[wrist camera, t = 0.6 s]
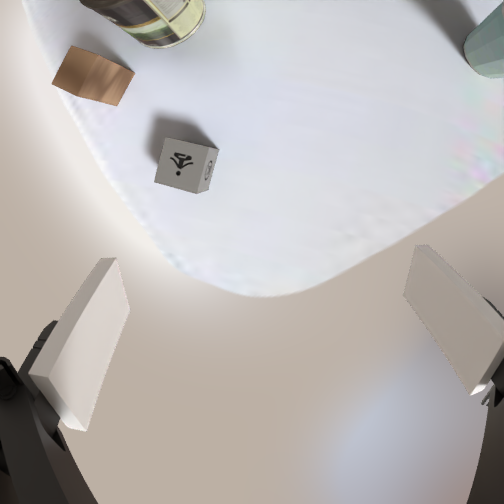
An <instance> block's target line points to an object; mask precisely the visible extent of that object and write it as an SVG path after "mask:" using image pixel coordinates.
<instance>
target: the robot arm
mask: <svg viewBox="0 0 504 504" xmlns="http://www.w3.org/2000/svg"><path fill="white" fill-rule="evenodd" d="M403 296H404V297H405V299H406V300H407V302H408V303H409V304H410V306H411V307H412V308H413V310H414V311H415V313H416V314H417V315H418V317H419V318H420V320H421V321H422V322H423V324H424V325H425V327H426V328H427V330H428V331H429V332H430V334H431V335H432V337H433V338H434V340H435V341H436V343H437V344H438V346H439V347H440V349H441V350H442V352H443V353H444V355H445V356H446V358H447V359H448V361H449V363H450V364H451V366H452V367H453V369H454V370H455V372H456V374H457V375H458V377H459V378H460V380H461V382H462V383H463V385H464V386H465V388H466V390H467V391H468V393H469V395H473V394H475V393H477V392H480V391H482V390H484V388H485V387H486V385H487V384H488V382H489V381H490V379H491V380H492V381H493V383H494V385H493V386H492V388H491V389H490V391H489V392H488V393H487V395H486V396H485V398H484V399H483V400H482V403H481V404H482V405H484V403H485V402H486V400H487V399H489V402H488V404H487V405H486V406H488V414H487V421H486V428H485V433H484V438H483V444H482V449H481V453H480V458H479V463H478V466H477V470H476V474H475V478H474V481H473V485H472V488H471V492H470V495H469V498H468V501H467V504H504V317H502V314H501V313H500V312H499V311H497V309H496V308H495V306H494V305H493V304H492V303H491V302H490V301H488V300H487V299H485V298H484V297H482V296H481V295H480V294H479V293H478V292H477V291H476V290H475V289H474V288H473V287H472V286H471V285H470V284H469V283H468V282H467V281H466V280H465V279H464V278H463V277H462V276H461V275H460V274H459V273H458V272H457V271H456V270H455V269H454V268H453V267H452V266H451V265H450V264H449V263H447V262H446V261H445V260H444V259H443V258H442V257H441V256H440V255H439V254H438V253H437V252H436V251H434V250H433V249H432V248H431V247H430V246H429V245H416V246H415V249H414V254H413V258H412V263H411V266H410V270H409V274H408V278H407V282H406V286H405V289H404V293H403ZM129 312H130V307H129V304H128V300H127V296H126V293H125V289H124V285H123V282H122V278H121V274H120V270H119V266H118V261H117V258H101V259H100V260H99V262H98V263H97V264H96V266H95V267H94V269H93V270H92V271H91V273H90V274H89V276H88V277H87V279H86V280H85V281H84V283H83V284H82V286H81V287H80V289H79V290H78V292H77V293H76V295H75V296H74V298H73V299H72V301H71V302H70V304H69V305H68V307H67V309H66V310H65V312H64V313H63V315H62V316H61V318H60V319H59V321H52V322H51V323H50V324H49V325H48V326H46V327H45V328H44V329H43V331H42V332H41V334H40V336H39V337H38V341H36V342H35V344H34V346H33V349H31V351H30V352H29V354H28V356H27V357H26V359H25V361H24V363H23V364H22V366H21V368H20V370H19V371H18V373H17V371H16V370H15V368H14V367H13V365H12V364H11V362H10V360H9V359H7V358H5V357H0V504H98V503H97V501H96V499H95V498H94V496H93V494H92V492H91V491H90V489H89V487H88V485H87V484H86V482H85V480H84V478H83V476H82V474H81V472H80V471H79V469H78V467H77V465H76V463H75V461H74V459H73V457H72V455H71V453H70V451H69V448H68V446H67V444H66V441H65V439H64V437H63V435H62V432H61V431H60V429H59V428H58V426H57V425H58V423H59V420H60V419H61V420H62V421H63V422H64V424H65V425H66V426H67V427H68V428H72V429H77V430H81V431H87V429H88V426H89V422H90V419H91V416H92V413H93V410H94V407H95V404H96V401H97V398H98V395H99V392H100V389H101V386H102V383H103V380H104V377H105V374H106V372H107V369H108V366H109V363H110V360H111V358H112V355H113V352H114V350H115V347H116V345H117V342H118V340H119V337H120V335H121V332H122V329H123V327H124V324H125V322H126V320H127V317H128V315H129Z"/></svg>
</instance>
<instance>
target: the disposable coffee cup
mask: <svg viewBox="0 0 504 504" xmlns="http://www.w3.org/2000/svg"><path fill="white" fill-rule="evenodd" d="M463 47H464V53H465V57H466V59H467V61H468V62H469V64H470V66H471V67H472V68H473V69H474V70H475V71H476V72H477V73H478V74H479V75H482V76H485V77H488V78H504V0H503V2H502V3H501V4H500V5H499V6H498V7H497V8H496V9H495V10H494V11H493V12H492V13H491V14H490V15H489V16H488V17H487V18H486V19H485V20H484V21H483V22H482V23H480V24H479V25H478V26H477V27H476V28H475V29H474V30H473V31H472V32H471V33H470V34H469V35H468V36H467V38H466V41H465V44H464V46H463Z"/></svg>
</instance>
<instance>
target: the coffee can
mask: <svg viewBox="0 0 504 504" xmlns="http://www.w3.org/2000/svg"><path fill="white" fill-rule="evenodd" d="M79 1H80V2H81V3H82V4H83V5H84V6H86V7H88V8H90V9H93V10H94V11H96V12H97V13H99V14H101V15H102V16H104V17H105V18H106V19H108V20H110V21H111V22H113V23H114V24H116V25H117V26H119V27H120V28H121V29H123V30H124V31H126V32H127V33H129V34H130V35H131V36H133V37H134V38H135V39H137V40H138V41H139V42H140V43H141V44H143V45H145V46H147V47H150V48H156V49H159V48H168V47H171V46H174V45H177V44H179V43H181V42H183V41H185V40H186V39H188V38H189V37H190V36H191V35H193V34H194V33H195V32H196V30H197V29H198V28H199V27H200V25H201V23H202V22H203V20H204V17H205V12H206V7H205V3H204V0H79Z"/></svg>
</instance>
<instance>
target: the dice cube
mask: <svg viewBox="0 0 504 504" xmlns="http://www.w3.org/2000/svg"><path fill="white" fill-rule="evenodd" d="M218 152H219V149H215V148H211V147H207V146H203V145H199V144H195V143H191V142H186V141H182V140H177V139H172V138H167V137H165V140H164V144H163V148H162V152H161V156H160V159H159V163H158V168H157V172H156V176H155V180H154V182H155V183H159V184H163V185H166V186H170V187H174V188H177V189H181V190H184V191H188V192H192V193H195V194H198V193H201V192H204V191H207V190H208V188H209V184H210V181H211V177H212V173H213V170H214V166H215V163H216V159H217V156H218Z"/></svg>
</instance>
